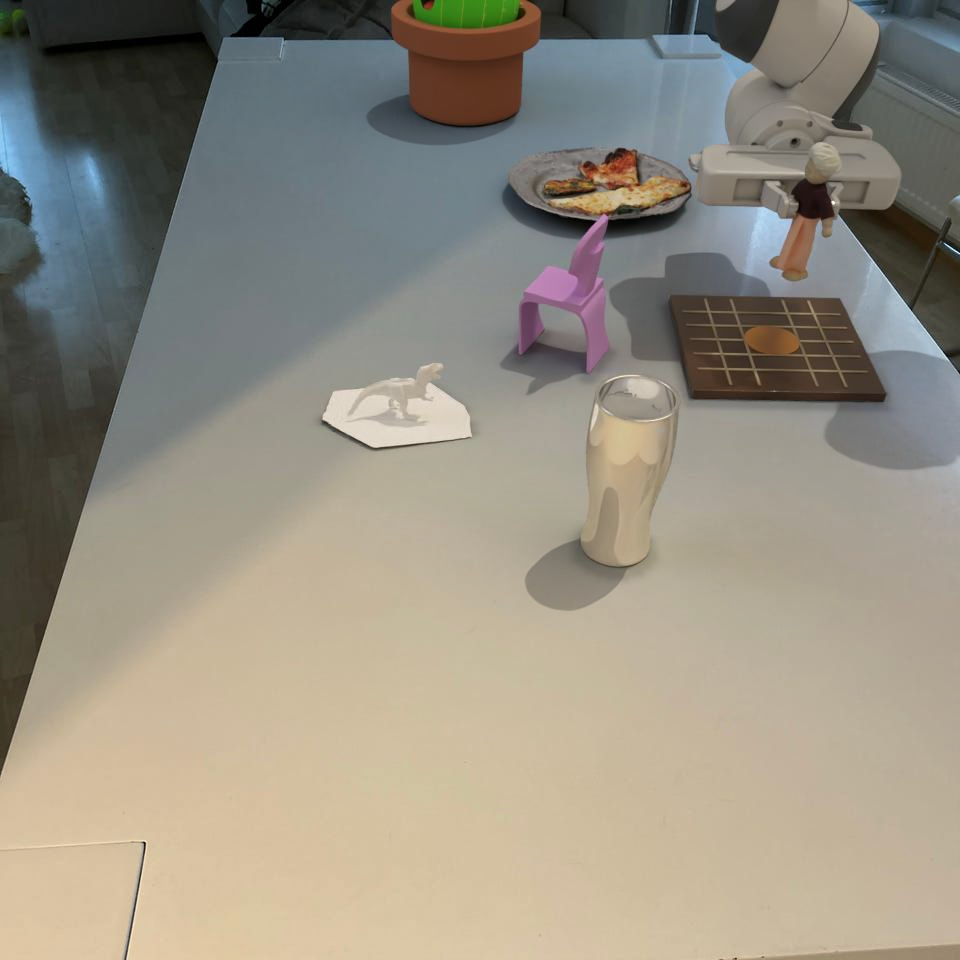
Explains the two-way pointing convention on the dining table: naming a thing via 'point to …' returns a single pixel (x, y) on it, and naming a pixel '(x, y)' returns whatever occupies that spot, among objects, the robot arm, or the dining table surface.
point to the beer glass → (627, 464)
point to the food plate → (600, 183)
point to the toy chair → (571, 295)
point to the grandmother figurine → (809, 212)
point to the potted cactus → (465, 56)
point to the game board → (772, 349)
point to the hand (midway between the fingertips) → (810, 212)
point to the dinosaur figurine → (399, 411)
